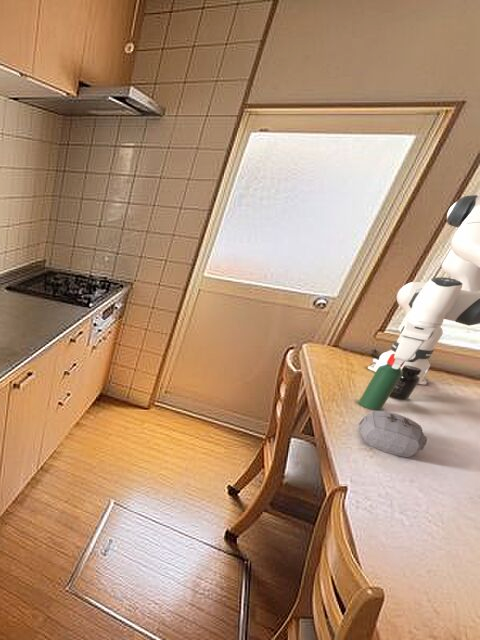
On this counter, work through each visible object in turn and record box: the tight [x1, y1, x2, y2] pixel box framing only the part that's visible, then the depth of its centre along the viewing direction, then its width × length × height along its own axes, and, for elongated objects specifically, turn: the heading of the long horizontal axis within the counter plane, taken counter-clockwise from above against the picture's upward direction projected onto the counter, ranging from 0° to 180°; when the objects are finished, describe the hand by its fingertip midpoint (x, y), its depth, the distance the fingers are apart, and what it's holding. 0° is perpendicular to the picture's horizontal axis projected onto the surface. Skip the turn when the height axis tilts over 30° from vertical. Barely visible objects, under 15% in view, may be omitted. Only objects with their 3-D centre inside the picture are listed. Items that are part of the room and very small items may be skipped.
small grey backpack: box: [358, 410, 428, 458], centre depth 128 cm, size 15×8×20 cm
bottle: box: [358, 364, 403, 411], centre depth 147 cm, size 6×6×19 cm
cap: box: [387, 354, 405, 367], centre depth 143 cm, size 4×4×3 cm
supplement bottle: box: [389, 365, 421, 401], centre depth 158 cm, size 7×7×12 cm
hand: (395, 366), depth 144 cm, fingers closed on cap, 3 cm apart
